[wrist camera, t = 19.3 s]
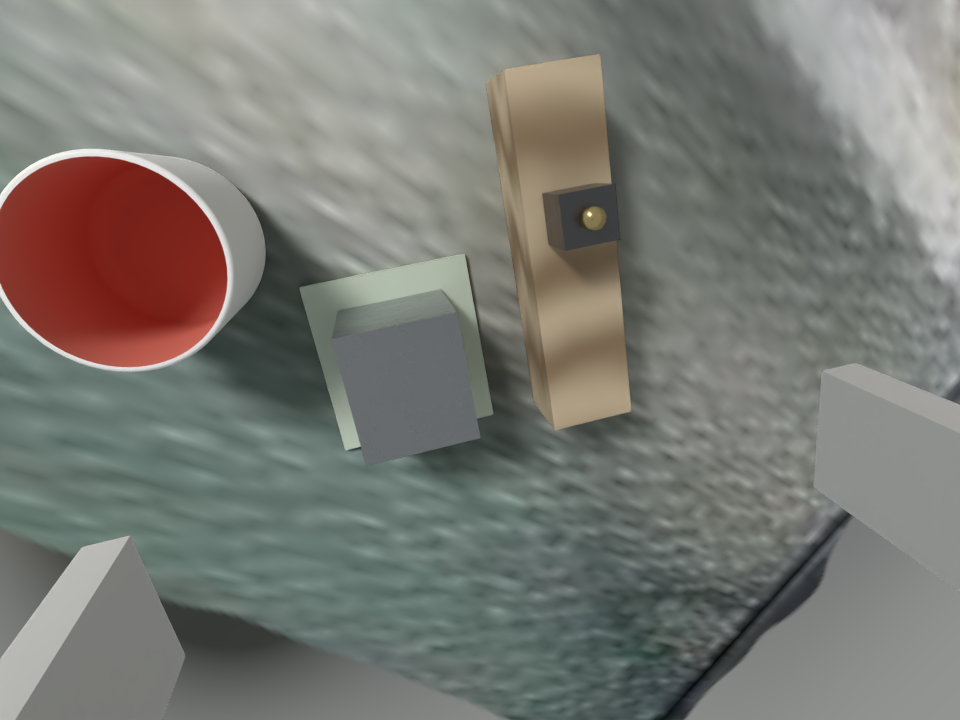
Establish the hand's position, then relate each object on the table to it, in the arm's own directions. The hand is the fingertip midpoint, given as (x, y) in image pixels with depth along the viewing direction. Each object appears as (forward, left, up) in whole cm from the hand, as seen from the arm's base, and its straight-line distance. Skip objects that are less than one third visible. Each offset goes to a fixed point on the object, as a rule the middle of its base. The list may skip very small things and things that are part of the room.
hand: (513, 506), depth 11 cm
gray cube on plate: (+6, -2, -28) cm, 29 cm away
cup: (-4, -13, -29) cm, 32 cm away
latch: (-2, +10, -24) cm, 26 cm away
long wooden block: (+1, +10, -29) cm, 30 cm away
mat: (+6, -2, -29) cm, 29 cm away
